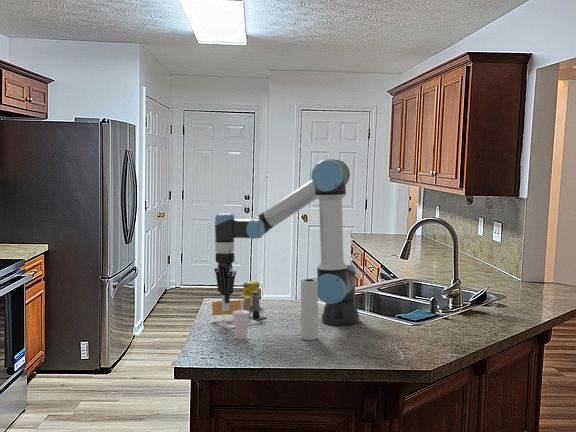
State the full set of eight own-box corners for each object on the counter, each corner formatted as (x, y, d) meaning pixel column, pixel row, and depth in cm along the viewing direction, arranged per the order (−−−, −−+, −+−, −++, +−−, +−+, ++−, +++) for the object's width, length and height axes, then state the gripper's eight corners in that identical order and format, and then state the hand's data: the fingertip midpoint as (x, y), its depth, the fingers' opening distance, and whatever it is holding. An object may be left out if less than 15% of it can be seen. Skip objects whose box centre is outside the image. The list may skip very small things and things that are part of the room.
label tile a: (259, 323, 261) (259, 321, 261) (247, 325, 258) (247, 323, 258) (247, 319, 268) (247, 317, 268) (234, 321, 265) (234, 319, 265)
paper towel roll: (312, 341, 234) (312, 282, 233) (297, 339, 237) (297, 280, 236) (322, 337, 240) (322, 279, 239) (307, 334, 244) (307, 277, 242)
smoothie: (252, 336, 241) (252, 299, 240) (246, 341, 235) (245, 302, 234) (236, 335, 243) (236, 297, 242) (229, 339, 237) (229, 301, 236)
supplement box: (256, 308, 290) (256, 283, 289) (243, 307, 291) (243, 283, 290) (259, 305, 295) (259, 281, 295) (246, 305, 297) (246, 281, 296)
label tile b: (241, 326, 256) (241, 324, 256) (228, 329, 253) (228, 327, 253) (229, 322, 263) (229, 320, 263) (216, 324, 260) (216, 322, 260)
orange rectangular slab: (249, 315, 271) (249, 296, 270) (250, 316, 269) (250, 297, 268) (212, 317, 267) (211, 298, 266) (212, 319, 265) (212, 299, 264)
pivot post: (266, 318, 270) (266, 292, 269) (254, 320, 266) (254, 293, 265) (258, 315, 275) (257, 289, 274) (246, 317, 271) (245, 291, 270)
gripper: (241, 253, 260) (242, 312, 261) (224, 250, 270) (225, 306, 272) (225, 254, 255) (226, 314, 257) (208, 251, 266) (209, 309, 267)
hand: (225, 310), depth 264 cm, fingers closed
